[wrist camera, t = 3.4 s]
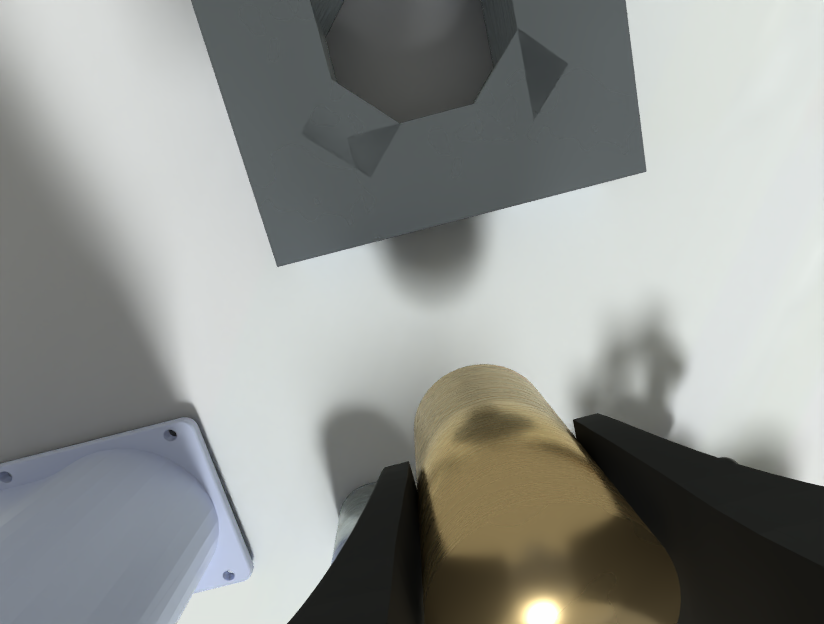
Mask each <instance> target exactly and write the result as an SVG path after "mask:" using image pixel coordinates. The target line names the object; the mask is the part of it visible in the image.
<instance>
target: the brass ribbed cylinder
mask: <svg viewBox="0 0 824 624" xmlns="http://www.w3.org/2000/svg"><path fill="white" fill-rule="evenodd" d="M414 439H415V458H416V476H417V494H418V513H419V531H420V549H421V568H422V586H423V604H424V623H425V624H677V622H678V618H679V613H680V604H681V595H680V584H679V580H678V575H677V572H676V569H675V567H674V564H673V562H672V560H671V558H670V556H669V555H668V553H667V551H666V550H665V548H664V547H663V546H662V545H661V543H660V542H659V541H658V540H657V538H656V537H655V536H654V535H653V533H652V532H651V531H650V530H649V528H648V527H647V526H646V525H645V523H644V522H643V521H642V520H641V518H640V517H639V516H638V515H637V513H636V512H635V511H634V510H633V508H632V507H631V506H630V505H629V503H628V502H627V501H626V500H625V499H624V497H623V496H622V495H621V494H620V492H619V491H618V490H617V489H616V487H615V486H614V485H613V484H612V482H611V481H610V480H609V479H608V477H607V476H606V475H605V474H604V472H603V471H602V470H601V469H600V467H599V466H598V465H597V464H596V462H595V461H594V460H593V459H592V458H591V456H590V455H589V454H588V453H587V451H586V450H585V449H584V448H583V446H582V445H581V444H580V443H579V441H578V440H577V439H576V438H575V436H574V435H573V434H572V433H571V431H570V430H569V429H568V428H567V426H566V425H565V424H564V423H563V421H562V420H561V419H560V418H559V416H558V415H557V414H556V413H555V412H554V410H553V409H552V408H551V407H550V405H549V404H548V403H547V402H546V400H545V399H544V398H543V397H542V395H541V394H540V393H539V392H538V390H537V389H536V388H535V387H534V386H533V384H532V383H531V382H529V381H528V380H527V379H526V378H525V377H523V376H522V375H520V374H519V373H517V372H515V371H513V370H511V369H508V368H505V367H502V366H497V365H488V364H480V365H471V366H466V367H463V368H460V369H457V370H455V371H453V372H450V373H449V374H447V375H445V376H444V377H442V378H441V379H440V380H438V381H437V382H436V383H435V384H434V385H433V386H432V387H431V388H430V389H429V390H428V391H427V393H426V394H425V395H424V397H423V399H422V400H421V402H420V404H419V407H418V409H417V412H416V416H415V421H414Z"/></svg>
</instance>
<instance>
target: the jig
mask: <svg viewBox="0 0 824 624" xmlns="http://www.w3.org/2000/svg"><path fill="white" fill-rule="evenodd" d="M343 1H344V0H191V2H192V5H193V8H194V11H195V14H196V17H197V20H198V23H199V27H200V30H201V33H202V36H203V39H204V42H205V45H206V48H207V51H208V54H209V57H210V61H211V64H212V67H213V70H214V73H215V76H216V79H217V82H218V85H219V88H220V91H221V94H222V98H223V101H224V104H225V107H226V110H227V113H228V116H229V119H230V122H231V125H232V128H233V131H234V135H235V138H236V141H237V144H238V147H239V150H240V153H241V156H242V159H243V162H244V165H245V169H246V172H247V175H248V178H249V181H250V184H251V187H252V190H253V193H254V196H255V199H256V202H257V206H258V209H259V212H260V215H261V218H262V221H263V224H264V227H265V230H266V233H267V236H268V240H269V243H270V246H271V249H272V252H273V255H274V258H275V261H276V264H277V267H279V266H283V265H287V264H291V263H295V262H299V261H302V260H306V259H310V258H314V257H318V256H322V255H326V254H330V253H333V252H337V251H341V250H345V249H349V248H353V247H357V246H361V245H364V244H368V243H372V242H376V241H380V240H384V239H388V238H391V237H395V236H399V235H403V234H407V233H411V232H415V231H419V230H422V229H426V228H430V227H434V226H438V225H442V224H446V223H449V222H453V221H457V220H461V219H465V218H469V217H473V216H477V215H480V214H484V213H488V212H492V211H496V210H500V209H504V208H507V207H511V206H515V205H519V204H523V203H527V202H531V201H535V200H538V199H542V198H546V197H550V196H554V195H558V194H562V193H565V192H569V191H573V190H577V189H581V188H585V187H589V186H593V185H596V184H600V183H604V182H608V181H612V180H616V179H620V178H624V177H627V176H631V175H635V174H639V173H643V172H646V164H645V156H644V148H643V140H642V132H641V123H640V115H639V107H638V99H637V91H636V83H635V75H634V66H633V58H632V50H631V42H630V34H629V26H628V18H627V9H626V1H625V0H481V4H482V9H483V14H484V19H485V25H486V30H487V35H488V41H489V46H490V51H491V56H492V62H493V67H494V68H493V70H492V71H491V73H490V75H489V77H488V78H487V80H486V82H485V84H484V85H483V87H482V89H481V90H480V92H479V94H478V96H477V97H476V99H475V101H474V103H473V104H471V105H467V106H463V107H459V108H456V109H452V110H448V111H444V112H440V113H437V114H433V115H429V116H425V117H421V118H418V119H414V120H410V121H406V122H402V123H398V122H397V121H395V120H394V119H392V118H391V117H389V116H388V115H386V114H385V113H383V112H381V111H380V110H378V109H377V108H375V107H374V106H372V105H371V104H369V103H368V102H366V101H364V100H363V99H361V98H360V97H358V96H357V95H355V94H354V93H352V92H351V91H349V90H347V89H346V88H344V87H343V86H341V85H340V84H338V83H337V80H336V77H335V73H334V69H333V65H332V62H331V58H330V54H329V50H328V47H327V43H326V39H325V37H326V35H327V33H328V31H329V29H330V27H331V25H332V23H333V21H334V19H335V17H336V15H337V13H338V11H339V9H340V7H341V5H342V3H343Z"/></svg>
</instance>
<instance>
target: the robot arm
mask: <svg viewBox="0 0 824 624" xmlns="http://www.w3.org/2000/svg"><path fill="white" fill-rule="evenodd" d="M573 423H574V428H575V434H576V439H577V440H578V441H579V443H580V444H581V445H582V446H583V448H584V449H585V450H586V451H587V453H588V454H589V455H590V456H591V458H592V459H593V460H594V461H595V462H596V464H597V465H598V466H599V467H600V469H601V470H602V471H603V472H604V474H605V475H606V476H607V477H608V479H609V480H610V481H611V482H612V484H613V485H614V486H615V487H616V489H617V490H618V491H619V492H620V494H621V495H622V496H623V497H624V499H625V500H626V501H627V502H628V503H629V505H630V506H631V507H632V508H633V510H634V511H635V512H636V513H637V515H638V516H639V517H640V518H641V520H642V521H643V522H644V523H645V525H646V526H647V527H648V528H649V530H650V531H651V532H652V533H653V535H654V536H655V537H656V538H657V540H658V541H659V542H660V543H661V545H662V546H663V547H664V548H665V550H666V551H667V553H668V555H669V556H670V558H671V560H672V562H673V564H674V567H675V569H676V572H677V575H678V580H679V584H680V595H681V604H680V613H679V618H678V622H677V623H678V624H824V486H819V485H815V484H810V483H806V482H802V481H798V480H794V479H790V478H786V477H783V476H779V475H775V474H771V473H767V472H764V471H760V470H756V469H753V468H749V467H746V466H742V465H739V464H736V463H733V462H730V461H726V460H723V459H720V458H717V457H714V456H711V455H708V454H705V453H702V452H699V451H696V450H693V449H691V448H688V447H685V446H682V445H680V444H677V443H674V442H671V441H669V440H666V439H664V438H661V437H658V436H656V435H653V434H651V433H648V432H646V431H643V430H640V429H638V428H635V427H633V426H630V425H628V424H625V423H623V422H620V421H618V420H615V419H612V418H610V417H607V416H604V415H601V414H598V413H597V414H593V415H589V416H585V417H581V418H577V419H574V420H573ZM169 430H173V431H175V433H176V434H177V436H172V435H171V434H170V433H169ZM8 473H10V474H11V475H12V476H10V475H9V474H8ZM253 568H254V566H253V562H252V560H251V557H250V555H249V552H248V550H247V547H246V545H245V542H244V540H243V537H242V535H241V532H240V530H239V527H238V525H237V522H236V520H235V517H234V515H233V512H232V510H231V507H230V505H229V502H228V500H227V497H226V495H225V492H224V490H223V487H222V484H221V482H220V479H219V477H218V474H217V472H216V469H215V467H214V464H213V462H212V459H211V457H210V454H209V452H208V449H207V447H206V444H205V442H204V439H203V437H202V434H201V432H200V429H199V427H198V425H197V423H196V422H195V421H194V420H193V419H191V418H188V417H183V418H178V419H174V420H170V421H166V422H162V423H158V424H154V425H151V426H147V427H143V428H139V429H135V430H131V431H127V432H123V433H119V434H115V435H111V436H107V437H103V438H99V439H95V440H91V441H88V442H84V443H80V444H76V445H72V446H68V447H64V448H60V449H56V450H52V451H48V452H44V453H40V454H36V455H32V456H28V457H24V458H21V459H17V460H13V461H9V462H5V463H1V464H0V624H177V622H178V620H179V618H180V616H181V615H182V613H183V611H184V609H185V607H186V605H187V604H188V602H189V600H190V598H191V596H192V595H193V594H194V593H198V592H202V591H206V590H210V589H214V588H218V587H222V586H226V585H230V584H234V583H238V582H242V581H245V580H247V579H248V578H249V577H250V576H251V574H252V571H253ZM228 571H232V572H233V573H230V572H228ZM287 624H425V623H424V604H423V586H422V568H421V549H420V531H419V513H418V494H417V488H416V485H415V481H414V478H413V474H412V471H411V467H410V464H409V461H408V462H405V463H401V464H397V465H393V466H389V467H385V468H384V470H383V471H382V473H381V475H380V477H379V479H378V481H377V483H376V485H375V488H374V490H373V492H372V494H371V496H370V498H369V500H368V502H367V504H366V506H365V508H364V510H363V512H362V513H361V515H360V517H359V519H358V521H357V523H356V525H355V527H354V528H353V530H352V532H351V534H350V535H349V537H348V539H347V540H346V542H345V544H344V545H343V547H342V549H341V550H340V552H339V554H338V555H337V557H336V558H335V560H334V562H333V563H332V565H331V566H330V568H329V569H328V571H327V572H326V574H325V575H324V577H323V578H322V580H321V581H320V583H319V584H318V585H317V587H316V588H315V589H314V591H313V592H312V593H311V595H310V596H309V598H308V599H307V600H306V602H305V603H304V604H303V605H302V607H301V608H300V609H299V610H298V612H297V613H296V614H295V615H294V616H293V618H292V619H291V620H290V621H289V622H288V623H287Z"/></svg>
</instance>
